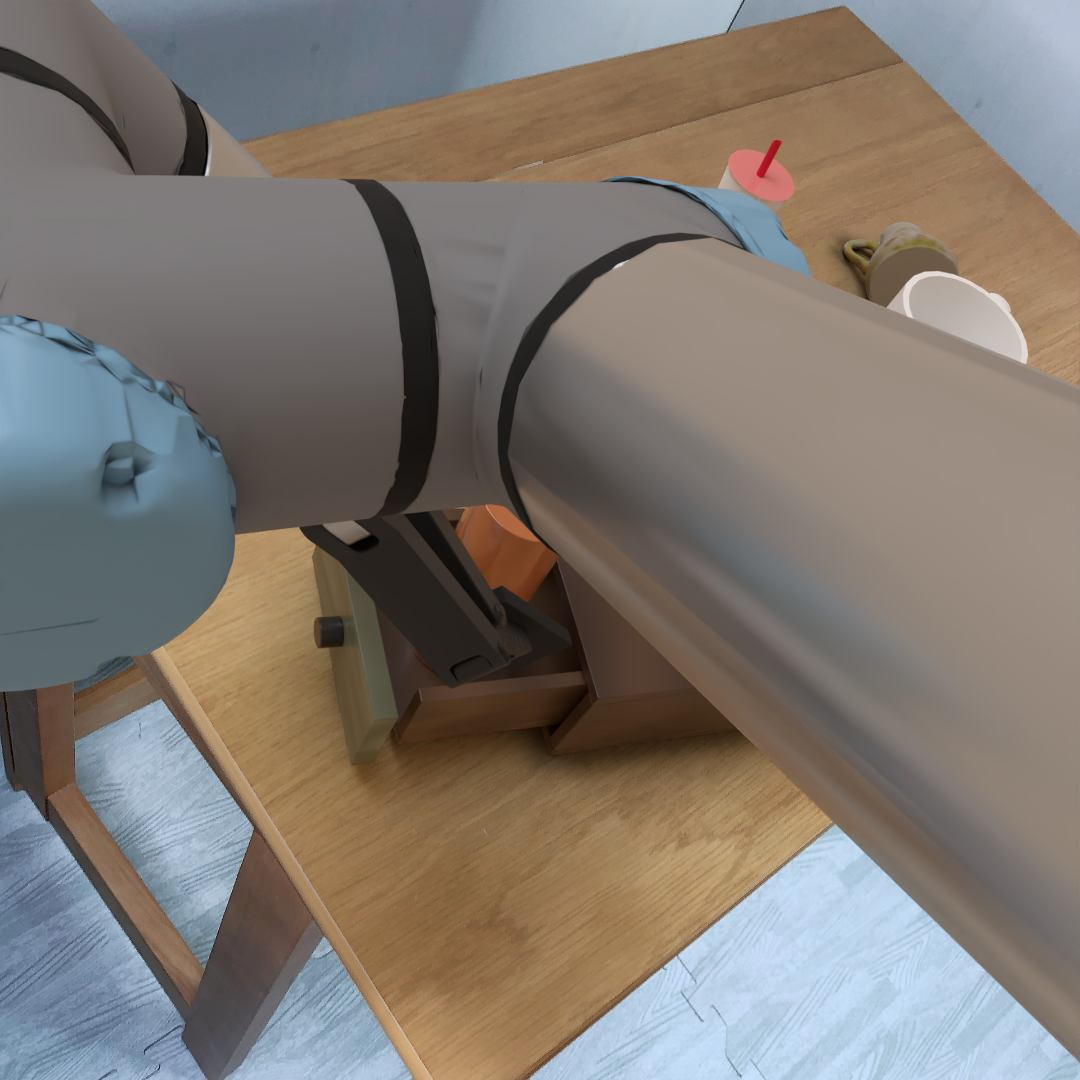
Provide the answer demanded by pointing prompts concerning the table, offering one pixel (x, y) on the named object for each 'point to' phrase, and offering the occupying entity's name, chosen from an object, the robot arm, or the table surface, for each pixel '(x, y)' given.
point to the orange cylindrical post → (503, 552)
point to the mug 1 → (899, 260)
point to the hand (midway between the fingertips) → (506, 518)
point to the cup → (759, 177)
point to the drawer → (430, 673)
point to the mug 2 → (962, 312)
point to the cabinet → (622, 681)
